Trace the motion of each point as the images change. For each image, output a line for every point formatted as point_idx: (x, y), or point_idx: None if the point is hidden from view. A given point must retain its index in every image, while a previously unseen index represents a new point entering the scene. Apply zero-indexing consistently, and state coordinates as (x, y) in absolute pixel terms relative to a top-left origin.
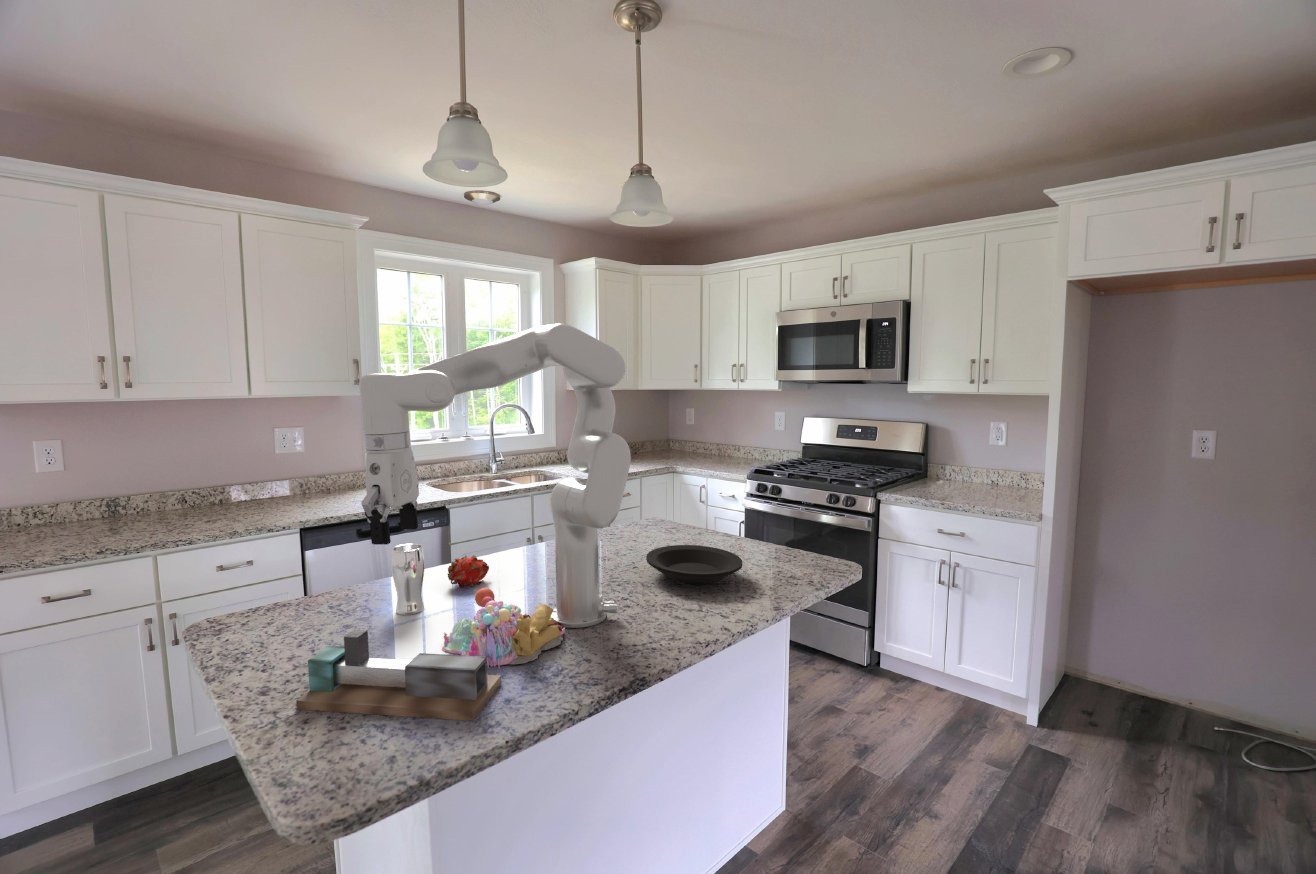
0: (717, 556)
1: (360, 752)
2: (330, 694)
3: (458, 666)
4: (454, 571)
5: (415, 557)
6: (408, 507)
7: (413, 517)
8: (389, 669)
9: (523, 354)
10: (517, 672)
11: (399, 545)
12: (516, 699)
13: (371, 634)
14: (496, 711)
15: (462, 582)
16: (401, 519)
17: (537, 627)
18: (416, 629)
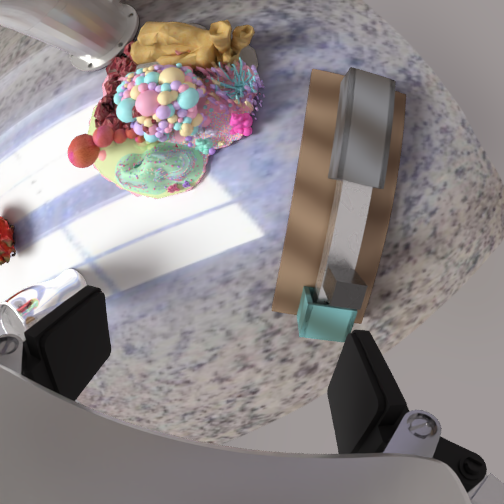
0: None
1: (449, 208)
2: None
3: (384, 104)
4: (3, 253)
5: (24, 304)
6: (42, 377)
7: (71, 323)
8: (366, 217)
9: None
10: (276, 58)
11: None
12: (351, 52)
13: (146, 313)
14: (380, 72)
15: (11, 239)
16: (89, 373)
17: (199, 29)
18: (125, 256)
